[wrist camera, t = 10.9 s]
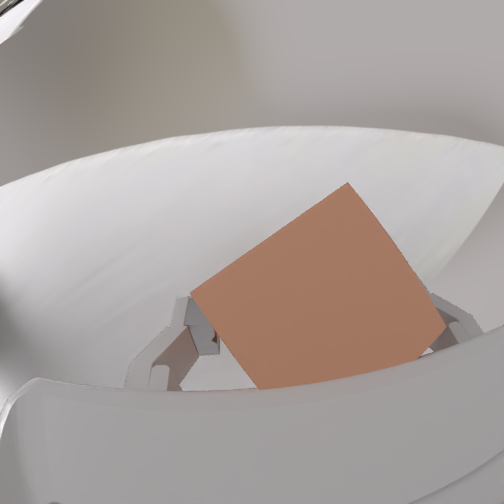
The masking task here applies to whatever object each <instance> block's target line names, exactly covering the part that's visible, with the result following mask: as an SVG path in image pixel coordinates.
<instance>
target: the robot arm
mask: <svg viewBox="0 0 504 504" xmlns="http://www.w3.org/2000/svg"><path fill="white" fill-rule="evenodd" d="M414 273H415V272H414ZM415 274H416V273H415ZM416 276H417V275H416ZM417 278H418V279H419V277H418V276H417ZM419 281H420V282H421V284H422V286H423V287H424V289H425V290H426V292H427V294H428V295H429V297H430V299H431V300H432V302H433V304H434V306H435V307H436V309H437V311H438V312H439V314H440V316H441V318H442V320H443V321H444V323H445V325H446V328H445V330H444V331H443V332H442V333H441V334H440V335H439V336H438V338H437V339H436V340H435V341H434V342H433V343H432V344H431V345H430V346H429V348H431V349H432V350H433V351H434V352H432V353H429V354H426V355H423V356H420V357H419V358H418V359H417V360H414V361H411V362H408V363H404V364H400V365H397V366H393V367H389V368H385V369H381V370H377V371H373V372H369V373H365V374H360V375H355V376H351V377H346V378H341V379H335V380H330V381H324V382H318V383H312V384H306V385H299V386H292V387H284V388H275V389H266V390H259V389H258V388H249V389H234V390H215V391H182V389H181V387H180V386H179V384H180V383H181V382H182V380H183V379H184V377H185V376H186V375H187V373H188V372H189V370H190V369H191V367H192V366H193V365H194V363H195V362H196V360H197V359H198V357H199V356H202V355H215V354H220V339H219V335H218V334H217V332H216V331H215V330H214V328H213V327H212V325H211V324H210V322H209V321H208V320H207V318H206V317H205V315H204V314H203V312H202V311H201V309H200V308H199V306H198V305H197V303H196V302H195V300H194V299H193V297H192V296H186V297H177V298H176V300H175V305H174V310H173V315H172V320H171V325H170V327H166V328H165V329H164V330H163V331H162V332H161V333H160V334H159V335H158V336H157V337H156V338H155V339H154V340H153V341H152V342H151V343H150V344H149V345H148V346H147V347H146V348H145V349H144V350H143V351H142V352H141V353H140V354H139V355H138V356H137V357H136V358H135V359H134V360H133V361H132V362H131V363H130V365H129V369H128V373H127V377H126V381H125V385H124V389H119V388H108V387H98V386H89V385H82V384H74V383H68V382H62V381H56V380H51V379H46V378H40V377H35V378H32V379H31V380H29V381H27V382H26V383H25V384H24V385H22V386H21V387H20V388H19V389H18V390H17V391H15V392H14V393H13V394H12V395H11V396H10V397H9V398H8V399H7V401H6V403H5V404H4V407H3V409H2V411H1V413H0V504H504V325H502V326H500V327H498V328H495V329H493V330H491V331H489V332H486V333H484V332H483V331H482V329H481V328H480V326H479V325H478V323H477V322H476V320H475V319H474V317H473V316H472V315H471V314H469V313H467V312H465V311H464V310H462V309H460V308H458V307H457V306H455V305H453V304H451V303H449V302H448V301H446V300H444V299H442V298H441V297H439V296H437V295H435V294H433V293H432V294H430V293H429V291H428V290H427V288H426V287H425V286H424V284H423V283H422V281H421V280H420V279H419Z"/></svg>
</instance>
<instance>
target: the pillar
mask: <svg viewBox="0 0 504 504" xmlns="http://www.w3.org/2000/svg"><path fill="white" fill-rule="evenodd" d="M190 294H191V296H192V297H193V299H194V300H195V302H196V303H197V305H198V306H199V308H200V309H201V311H202V312H203V314H204V315H205V317H206V318H207V320H208V321H209V322H210V324H211V325H212V327H213V328H214V330H215V331H216V332H217V334H218V335H219V337H220V338H221V339H222V341H223V342H224V344H225V345H226V346H227V348H228V349H229V351H230V352H231V353H232V355H233V356H234V357H235V359H236V360H237V361H238V363H239V364H240V365H241V367H242V368H243V369H244V371H245V372H246V373H247V375H248V376H249V377H250V379H251V380H252V381H253V382H254V384H255V385H256V386H257V388H258V389H259V390H266V389H275V388H284V387H292V386H299V385H306V384H312V383H318V382H324V381H330V380H335V379H341V378H346V377H351V376H355V375H360V374H365V373H369V372H373V371H377V370H381V369H385V368H389V367H393V366H397V365H400V364H404V363H408V362H411V361H414V360H417V359H418V358H419V357H420V355H422V354H423V352H424V351H425V350H426V349H427V348H428V347H429V346H430V345H431V344H432V343H433V342H434V341H435V340H436V339H437V338H438V336H439V335H440V334H441V333H442V332H443V331H444V330H445V328H446V325H445V323H444V321H443V320H442V318H441V316H440V314H439V312H438V311H437V309H436V307H435V306H434V304H433V302H432V300H431V299H430V297H429V295H428V294H427V292H426V290H425V289H424V287H423V286H422V284H421V282H420V281H419V279H418V278H417V276H416V274H415V273H414V271H413V270H412V268H411V267H410V265H409V264H408V262H407V261H406V259H405V258H404V256H403V255H402V253H401V252H400V250H399V249H398V247H397V246H396V245H395V243H394V242H393V240H392V239H391V238H390V236H389V235H388V233H387V232H386V231H385V229H384V228H383V226H382V225H381V224H380V222H379V221H378V220H377V218H376V217H375V216H374V214H373V213H372V212H371V211H370V209H369V208H368V207H367V205H366V204H365V203H364V202H363V200H362V199H361V198H360V197H359V195H358V194H357V193H356V192H355V190H354V189H353V188H352V187H351V185H350V184H349V183H348V182H347V183H346V184H345V185H343V186H342V187H340V188H339V189H337V190H336V191H334V192H333V193H332V194H330V195H329V196H327V197H326V198H324V199H323V200H322V201H320V202H319V203H317V204H316V205H314V206H313V207H312V208H310V209H309V210H307V211H306V212H304V213H303V214H302V215H300V216H299V217H297V218H296V219H294V220H293V221H292V222H290V223H289V224H287V225H286V226H284V227H283V228H282V229H280V230H279V231H277V232H276V233H274V234H273V235H272V236H270V237H269V238H267V239H266V240H264V241H263V242H262V243H260V244H259V245H257V246H256V247H254V248H253V249H252V250H250V251H249V252H247V253H246V254H244V255H243V256H242V257H240V258H239V259H237V260H236V261H234V262H233V263H232V264H230V265H229V266H227V267H226V268H224V269H223V270H222V271H220V272H219V273H217V274H216V275H214V276H213V277H212V278H210V279H209V280H207V281H206V282H204V283H203V284H202V285H200V286H199V287H197V288H196V289H195V290H193V291H192V292H190Z"/></svg>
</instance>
